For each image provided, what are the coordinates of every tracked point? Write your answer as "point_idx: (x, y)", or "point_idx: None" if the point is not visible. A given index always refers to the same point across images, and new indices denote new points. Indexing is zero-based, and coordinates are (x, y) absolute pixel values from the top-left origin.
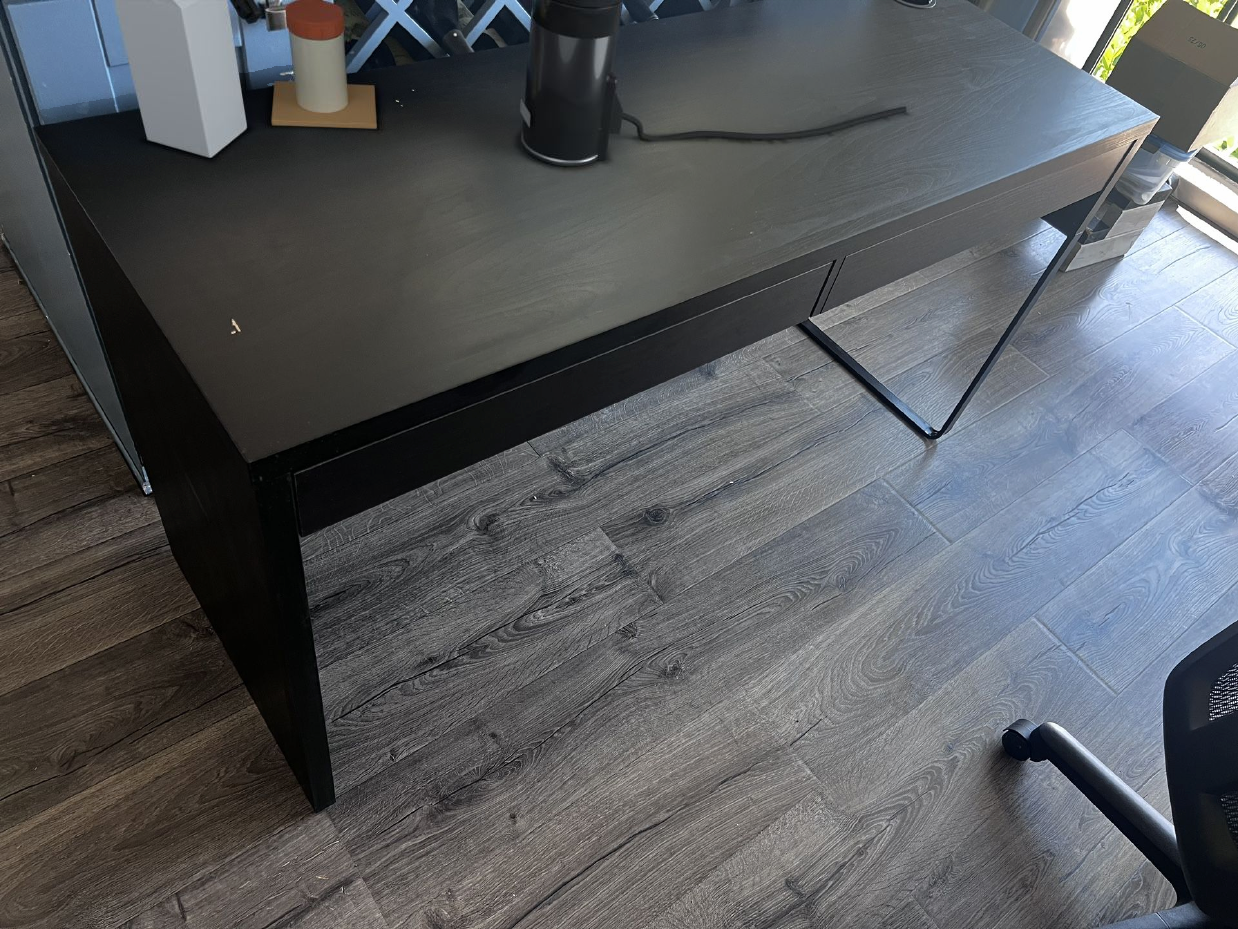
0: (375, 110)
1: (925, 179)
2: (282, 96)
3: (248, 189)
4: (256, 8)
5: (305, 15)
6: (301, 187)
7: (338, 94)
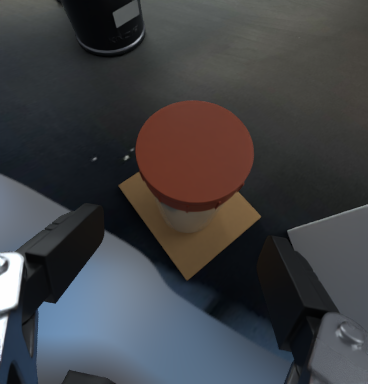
0: None
1: None
2: (212, 244)
3: (351, 160)
4: (279, 240)
5: (226, 144)
6: (312, 132)
7: None
